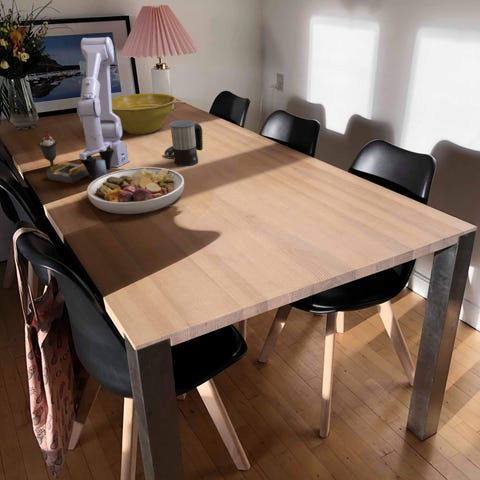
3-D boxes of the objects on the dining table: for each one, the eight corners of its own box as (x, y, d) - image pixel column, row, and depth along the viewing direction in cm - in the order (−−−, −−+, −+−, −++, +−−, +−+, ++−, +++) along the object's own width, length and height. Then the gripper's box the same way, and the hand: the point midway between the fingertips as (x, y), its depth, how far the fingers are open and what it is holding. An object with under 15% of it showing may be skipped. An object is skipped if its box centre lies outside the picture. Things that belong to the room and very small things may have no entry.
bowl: (85, 189, 170) (80, 167, 166) (172, 175, 178) (170, 154, 175) (95, 226, 145) (90, 201, 141) (196, 207, 153) (194, 183, 150)
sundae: (57, 173, 184) (48, 132, 177) (40, 172, 185) (31, 132, 178) (66, 167, 190) (57, 127, 183) (49, 166, 191) (41, 127, 184)
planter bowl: (117, 121, 245) (112, 93, 239) (183, 120, 243) (180, 91, 237) (98, 141, 217) (92, 110, 210) (172, 140, 215) (169, 108, 209)
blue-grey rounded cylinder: (110, 176, 179) (107, 160, 176) (102, 180, 176) (99, 164, 173) (100, 174, 181) (97, 158, 178) (92, 179, 177) (89, 162, 175)
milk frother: (192, 167, 184) (188, 127, 177) (153, 164, 189) (148, 125, 182) (207, 155, 196) (204, 117, 189) (170, 152, 200) (166, 115, 193)
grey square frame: (93, 172, 183) (91, 162, 181) (72, 183, 174) (69, 172, 173) (69, 168, 187) (67, 158, 186) (48, 179, 179) (45, 168, 177)
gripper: (88, 142, 164) (95, 181, 170) (116, 130, 175) (122, 167, 182) (71, 140, 167) (79, 179, 173) (100, 128, 178) (106, 165, 184)
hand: (100, 173), depth 178 cm, fingers open, 7 cm apart
